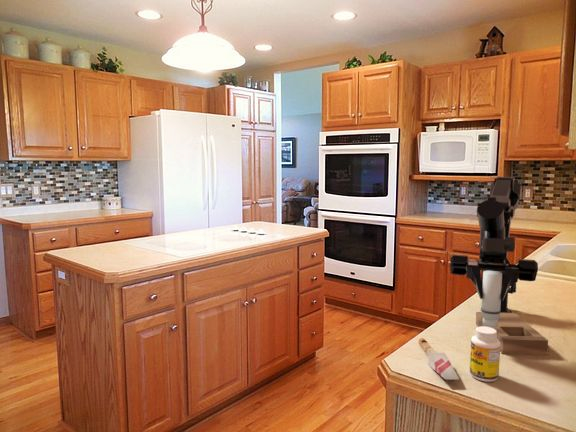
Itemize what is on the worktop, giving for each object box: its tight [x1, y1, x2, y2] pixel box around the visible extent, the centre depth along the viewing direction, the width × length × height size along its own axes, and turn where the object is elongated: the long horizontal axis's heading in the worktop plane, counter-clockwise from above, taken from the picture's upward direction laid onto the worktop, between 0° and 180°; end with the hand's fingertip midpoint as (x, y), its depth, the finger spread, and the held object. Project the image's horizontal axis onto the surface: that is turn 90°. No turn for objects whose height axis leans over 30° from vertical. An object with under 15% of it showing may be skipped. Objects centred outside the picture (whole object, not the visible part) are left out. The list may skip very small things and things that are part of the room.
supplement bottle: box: [469, 326, 501, 383], centre depth 90 cm, size 6×6×10 cm
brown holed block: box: [475, 311, 549, 356], centre depth 109 cm, size 18×10×4 cm, turn 175°
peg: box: [480, 270, 502, 327], centre depth 101 cm, size 4×4×12 cm
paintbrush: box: [418, 337, 460, 380], centre depth 97 cm, size 4×3×20 cm
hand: (491, 299), depth 100 cm, fingers closed on peg, 4 cm apart
